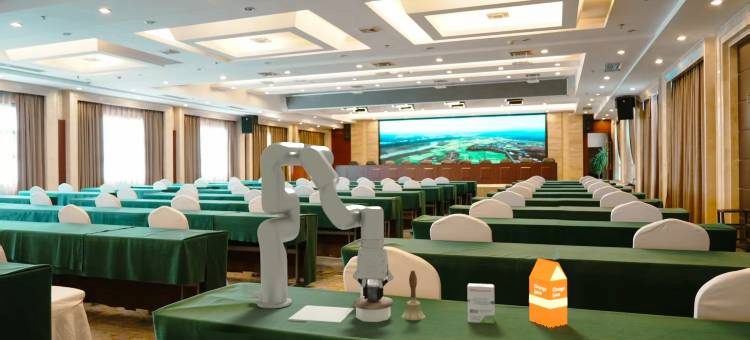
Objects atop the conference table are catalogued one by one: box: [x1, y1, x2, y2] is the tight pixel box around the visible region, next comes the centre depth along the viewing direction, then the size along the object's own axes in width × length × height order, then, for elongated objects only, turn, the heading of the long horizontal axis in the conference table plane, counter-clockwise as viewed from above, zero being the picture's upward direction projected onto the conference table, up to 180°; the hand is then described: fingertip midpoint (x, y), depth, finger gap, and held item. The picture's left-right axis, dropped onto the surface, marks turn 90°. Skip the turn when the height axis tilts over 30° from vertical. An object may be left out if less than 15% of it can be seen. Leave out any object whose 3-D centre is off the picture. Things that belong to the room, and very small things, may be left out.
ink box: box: [466, 282, 496, 324], centre depth 168 cm, size 9×5×12 cm, turn 76°
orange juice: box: [528, 257, 568, 329], centre depth 166 cm, size 8×9×20 cm
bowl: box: [355, 306, 392, 323], centre depth 172 cm, size 11×11×5 cm
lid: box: [353, 284, 394, 310], centre depth 171 cm, size 13×13×6 cm
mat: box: [287, 304, 355, 323], centre depth 176 cm, size 18×16×1 cm
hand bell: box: [401, 270, 426, 321], centre depth 171 cm, size 8×8×16 cm
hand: (373, 298), depth 171 cm, fingers closed on lid, 3 cm apart
